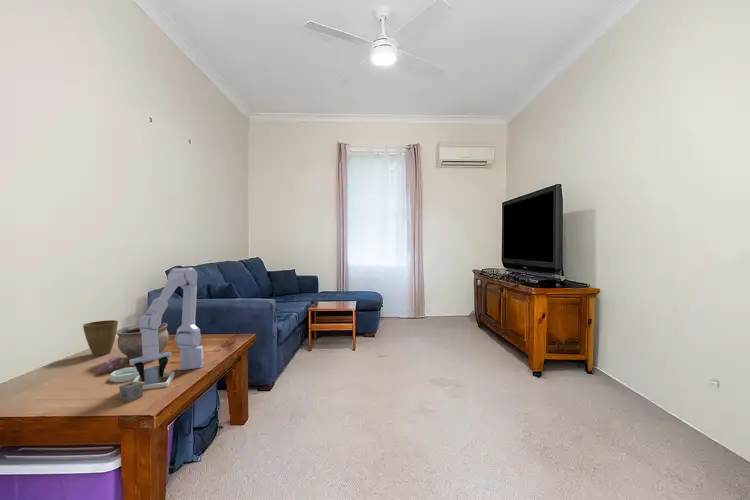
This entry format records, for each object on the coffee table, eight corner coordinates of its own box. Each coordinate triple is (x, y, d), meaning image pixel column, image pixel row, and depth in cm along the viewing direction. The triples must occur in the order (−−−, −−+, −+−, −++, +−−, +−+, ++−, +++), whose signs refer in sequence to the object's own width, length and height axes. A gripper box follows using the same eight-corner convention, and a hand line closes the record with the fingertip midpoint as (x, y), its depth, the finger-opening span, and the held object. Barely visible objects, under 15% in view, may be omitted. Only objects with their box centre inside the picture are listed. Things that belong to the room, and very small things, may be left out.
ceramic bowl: (178, 354, 201) (177, 324, 200) (133, 366, 182) (131, 333, 182) (154, 349, 212) (152, 320, 212) (109, 360, 194) (107, 329, 194)
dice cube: (133, 395, 148) (132, 381, 148) (142, 396, 146) (142, 382, 146) (120, 400, 143) (119, 386, 143) (129, 402, 141) (129, 387, 141)
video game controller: (103, 378, 173) (109, 363, 172) (95, 373, 174) (100, 358, 173) (122, 370, 183) (127, 357, 182) (114, 365, 183) (119, 352, 183)
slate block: (160, 380, 162) (159, 365, 162) (157, 384, 158) (156, 369, 158) (147, 381, 161) (146, 367, 161) (144, 385, 157) (143, 370, 157)
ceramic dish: (146, 371, 175) (146, 365, 175) (138, 379, 164) (138, 373, 164) (116, 374, 172) (116, 368, 172) (106, 383, 161) (106, 377, 161)
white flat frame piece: (174, 375, 168) (174, 371, 168) (167, 386, 155) (167, 382, 155) (137, 379, 164) (137, 376, 164) (127, 391, 151) (127, 387, 151)
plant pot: (107, 357, 200) (105, 325, 199) (77, 358, 200) (75, 326, 199) (125, 349, 215) (124, 319, 214) (98, 350, 215) (96, 320, 214)
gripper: (167, 339, 167) (168, 372, 168) (126, 347, 157) (128, 381, 158) (172, 342, 162) (174, 375, 162) (131, 350, 152) (133, 385, 152)
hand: (152, 378), depth 160 cm, fingers closed on slate block, 6 cm apart
